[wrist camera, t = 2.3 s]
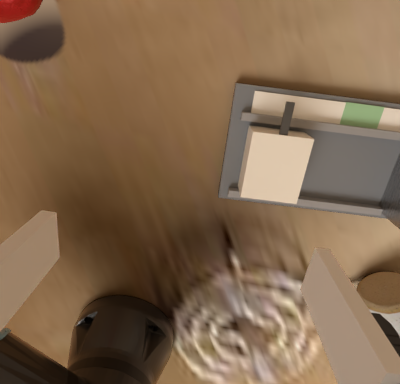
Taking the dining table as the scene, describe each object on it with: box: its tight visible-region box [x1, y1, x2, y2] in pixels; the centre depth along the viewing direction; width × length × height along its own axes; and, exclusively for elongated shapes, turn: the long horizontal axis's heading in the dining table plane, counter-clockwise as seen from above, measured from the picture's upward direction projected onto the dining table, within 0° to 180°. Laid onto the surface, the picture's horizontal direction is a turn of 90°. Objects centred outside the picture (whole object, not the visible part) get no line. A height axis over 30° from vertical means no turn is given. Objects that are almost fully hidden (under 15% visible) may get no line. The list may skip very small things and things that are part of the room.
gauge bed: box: [218, 83, 400, 219], centre depth 33 cm, size 22×13×2 cm, turn 83°
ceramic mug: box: [357, 272, 400, 336], centre depth 38 cm, size 11×8×8 cm
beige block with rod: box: [238, 101, 314, 204], centre depth 31 cm, size 6×10×3 cm, turn 173°
